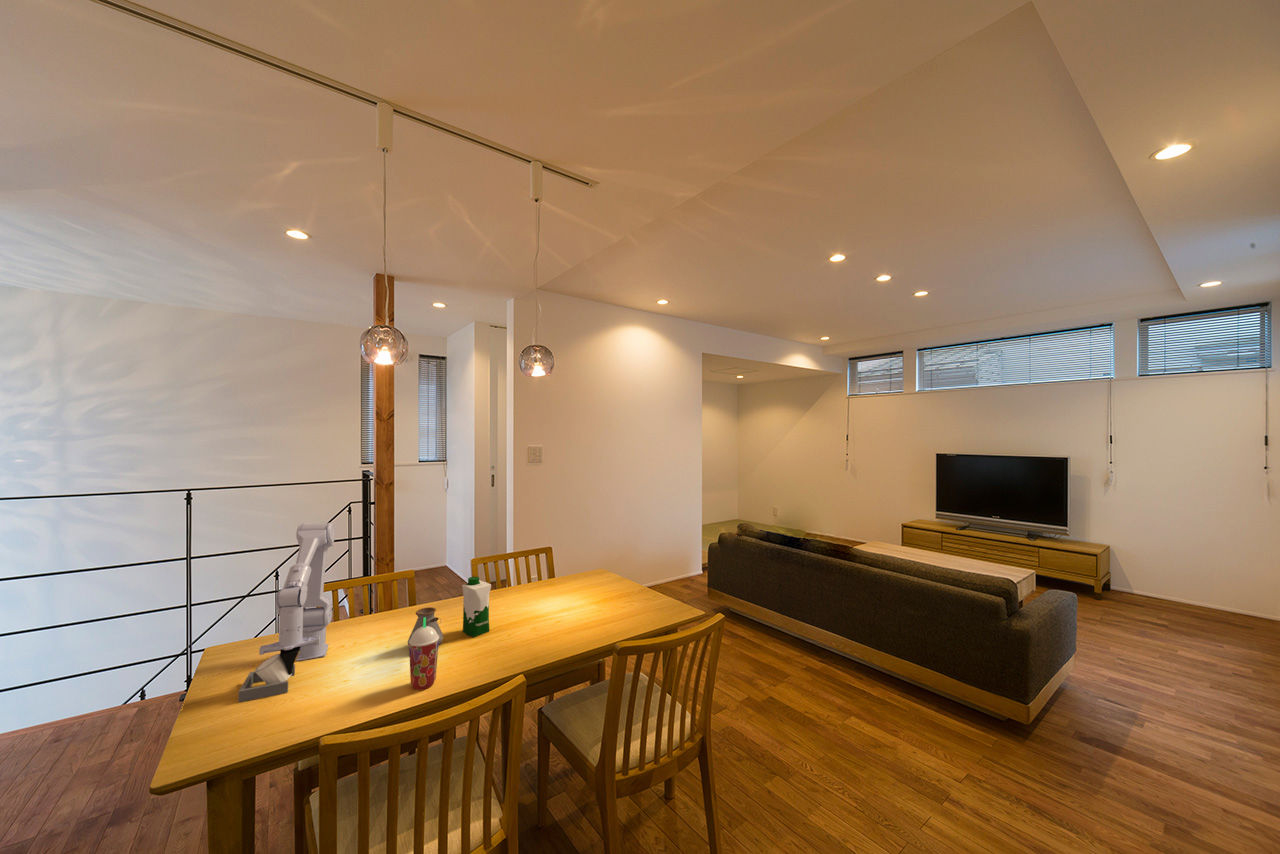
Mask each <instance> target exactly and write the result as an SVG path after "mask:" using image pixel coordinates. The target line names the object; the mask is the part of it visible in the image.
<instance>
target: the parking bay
mask: <svg viewBox="0 0 1280 854" xmlns="http://www.w3.org/2000/svg"><path fill="white" fill-rule="evenodd" d="M295 674H296V664H295V663H294V665H293V670H292V674H291V676H290V677H292V676H295ZM261 682H264V681H263V680H262V679H261V678H260V677H259V676H258V675H257V674H256V673H255V670H254V671H250V672H248V675H247V677H246V678H245V680H244V681H243V684H242V685H241V687H240V689H239V690H238V701H237V702H238V703H243V702H249V701H253V700H258V699H263V698H267V697H268V698H269V697H273V696H277V695H283V694H287V693H288V692H289V680H286V681H284V682H279V683H273V684H268V685H267V684H264V685H259V686H254V687H252V686H253V685H254V684H255V683H261Z"/></svg>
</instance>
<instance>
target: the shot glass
mask: <svg viewBox="0 0 1280 854" xmlns="http://www.w3.org/2000/svg"><path fill="white" fill-rule="evenodd" d="M254 671H255V673H256V674H257V675H258V676H259V677H260V678H261V679H262V680H263V681H262V682H264V683H265V685H268V684H273V683H279V682H284V681H288V679H289V678H291V677H292V676H291V675H289V674H288V672H287V668H286V665H285V663H284V662H283V660H282V659H281V657H280V653H277V654H274V655H272V656H270V657H269V658H267V659H266V660H264V661H263V662H262V663H260V664H259V665H258V666H257V667H256V668H255V669H254Z"/></svg>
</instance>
